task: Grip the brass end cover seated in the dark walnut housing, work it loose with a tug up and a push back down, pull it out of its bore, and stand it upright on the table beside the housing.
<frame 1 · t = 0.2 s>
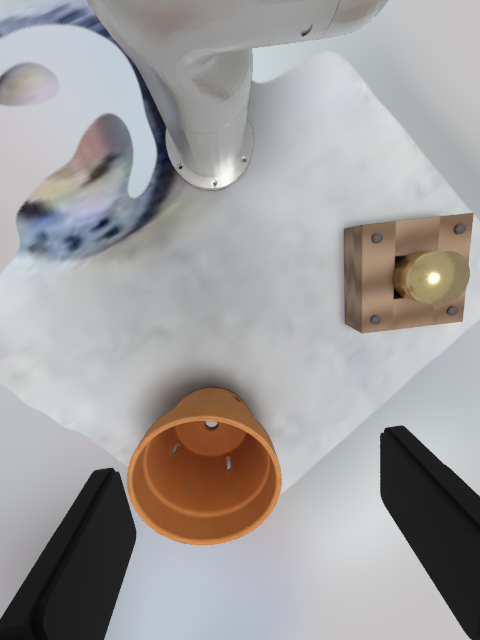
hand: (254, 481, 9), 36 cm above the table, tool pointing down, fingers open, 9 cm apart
brass end cover: (394, 273, 44), point 1 cm above the table, touching walnut housing
flower pot: (211, 419, 50), on the table
walnut housing: (390, 273, 45), on the table
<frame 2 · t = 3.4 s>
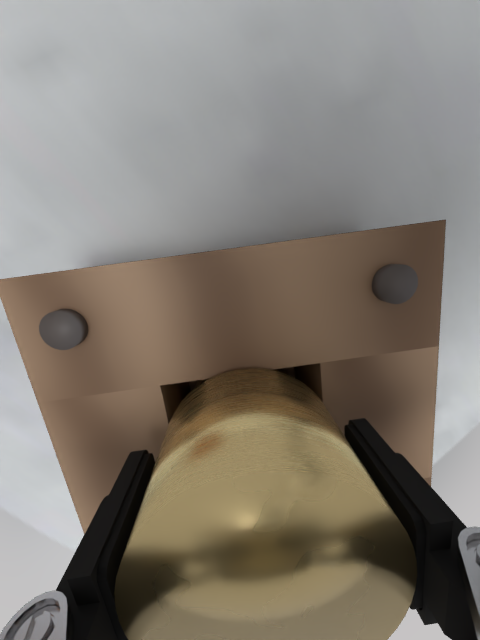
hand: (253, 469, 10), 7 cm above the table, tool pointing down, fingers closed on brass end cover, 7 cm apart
brass end cover: (243, 386, 16), point 1 cm above the table, touching gripper, walnut housing
walnut housing: (242, 378, 17), on the table
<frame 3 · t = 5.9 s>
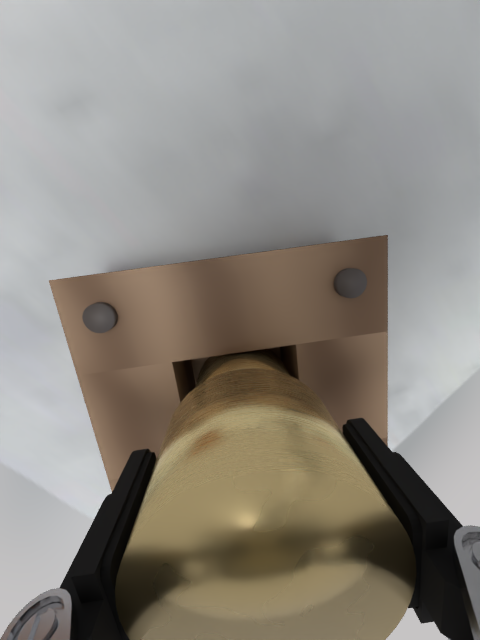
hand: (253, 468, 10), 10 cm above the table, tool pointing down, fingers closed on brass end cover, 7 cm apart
brass end cover: (243, 385, 16), point 4 cm above the table, touching gripper
walnut housing: (237, 364, 20), on the table
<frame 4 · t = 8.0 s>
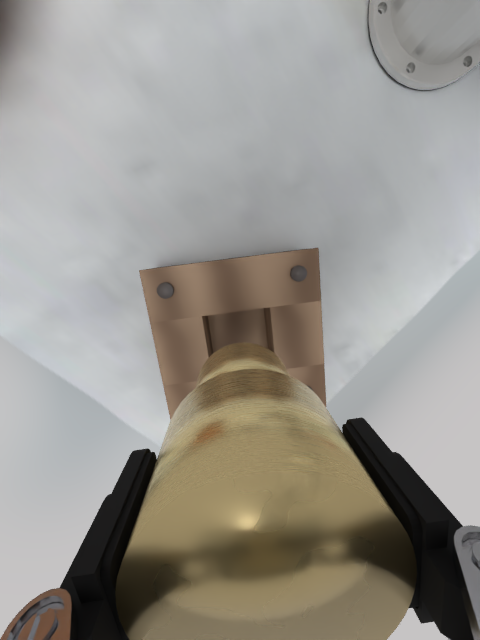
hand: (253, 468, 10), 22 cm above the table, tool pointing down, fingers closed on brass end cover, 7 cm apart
brass end cover: (243, 386, 16), point 15 cm above the table, touching gripper
walnut housing: (237, 327, 31), on the table
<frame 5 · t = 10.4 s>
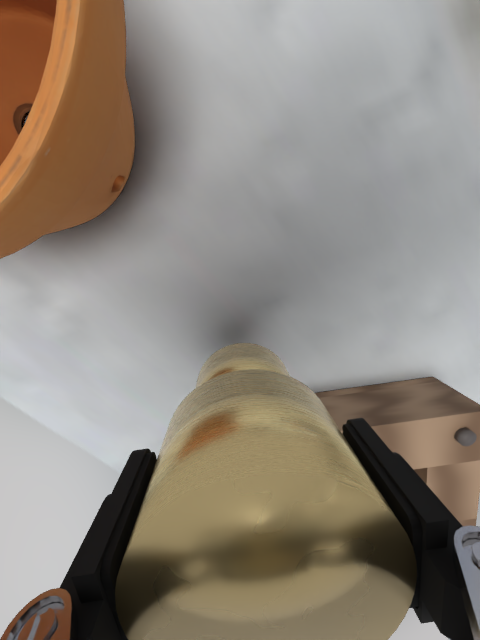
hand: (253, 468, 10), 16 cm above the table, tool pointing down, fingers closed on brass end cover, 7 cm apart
brass end cover: (243, 386, 16), point 9 cm above the table, touching gripper
flower pot: (46, 130, 21), on the table
walnut housing: (357, 452, 29), on the table
when the fingers open (8 cm above the table, at t = 12.3 s): brass end cover drops 2 cm, on the table.
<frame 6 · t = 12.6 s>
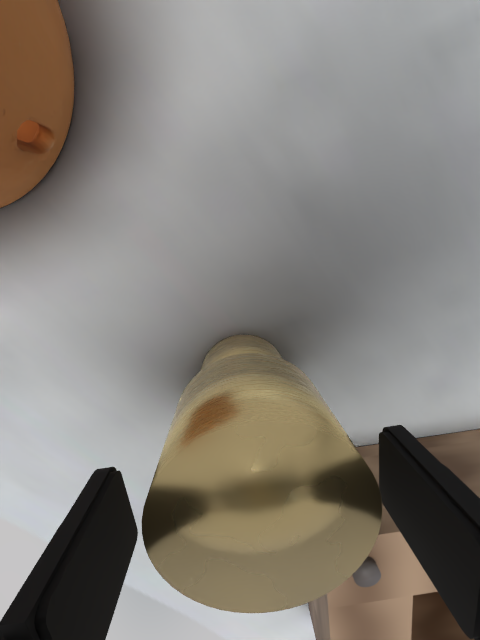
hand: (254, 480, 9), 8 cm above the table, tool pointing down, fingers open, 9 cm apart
brass end cover: (243, 374, 18), on the table
walnut housing: (399, 524, 21), on the table
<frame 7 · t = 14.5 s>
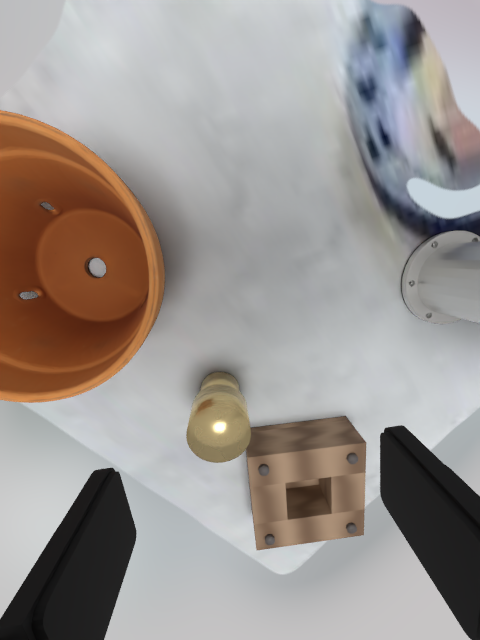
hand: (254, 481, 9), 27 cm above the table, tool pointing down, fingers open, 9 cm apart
brass end cover: (219, 389, 38), on the table
flower pot: (101, 266, 34), on the table
walnut housing: (297, 465, 42), on the table
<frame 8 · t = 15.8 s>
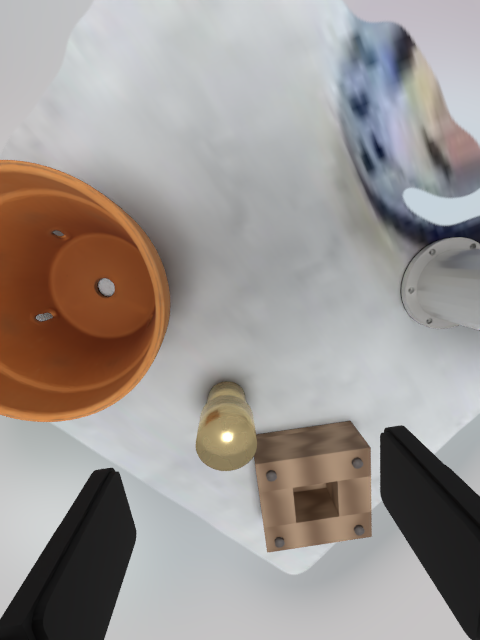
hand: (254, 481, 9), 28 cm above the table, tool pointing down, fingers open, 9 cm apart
brass end cover: (226, 398, 40), on the table
flower pot: (110, 285, 35), on the table
walnut housing: (304, 469, 44), on the table
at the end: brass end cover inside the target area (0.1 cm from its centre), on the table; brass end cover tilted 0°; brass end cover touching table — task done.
